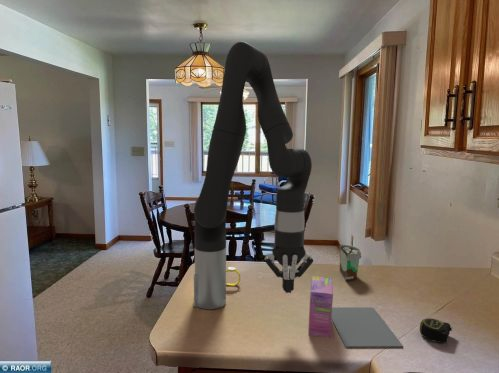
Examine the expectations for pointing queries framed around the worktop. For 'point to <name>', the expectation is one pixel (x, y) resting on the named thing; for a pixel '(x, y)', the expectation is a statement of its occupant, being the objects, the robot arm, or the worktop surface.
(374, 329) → the mat
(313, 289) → the box
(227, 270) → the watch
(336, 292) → the worktop surface
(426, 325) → the tape measure
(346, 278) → the food container
